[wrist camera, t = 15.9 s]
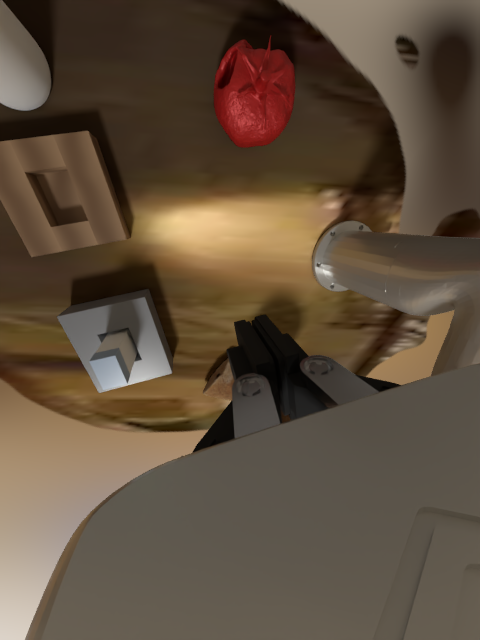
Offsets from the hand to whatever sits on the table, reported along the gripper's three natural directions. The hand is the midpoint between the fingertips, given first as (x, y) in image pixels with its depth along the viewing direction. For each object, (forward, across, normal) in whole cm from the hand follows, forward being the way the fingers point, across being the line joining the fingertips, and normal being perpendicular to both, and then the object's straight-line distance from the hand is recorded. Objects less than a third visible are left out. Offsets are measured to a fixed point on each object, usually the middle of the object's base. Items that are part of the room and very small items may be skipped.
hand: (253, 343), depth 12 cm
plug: (+28, +16, +10) cm, 34 cm away
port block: (+29, +16, +10) cm, 35 cm away
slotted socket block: (+29, +16, -11) cm, 35 cm away
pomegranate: (+29, -10, -18) cm, 36 cm away
